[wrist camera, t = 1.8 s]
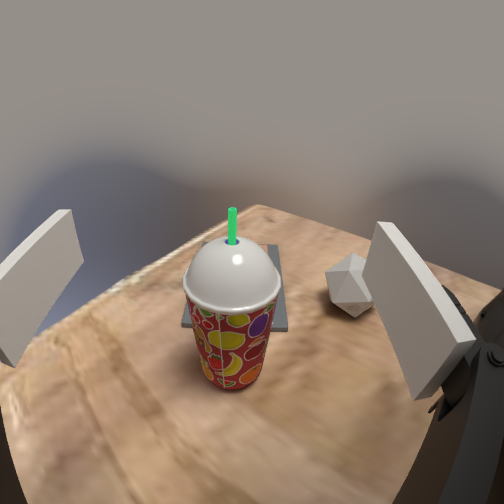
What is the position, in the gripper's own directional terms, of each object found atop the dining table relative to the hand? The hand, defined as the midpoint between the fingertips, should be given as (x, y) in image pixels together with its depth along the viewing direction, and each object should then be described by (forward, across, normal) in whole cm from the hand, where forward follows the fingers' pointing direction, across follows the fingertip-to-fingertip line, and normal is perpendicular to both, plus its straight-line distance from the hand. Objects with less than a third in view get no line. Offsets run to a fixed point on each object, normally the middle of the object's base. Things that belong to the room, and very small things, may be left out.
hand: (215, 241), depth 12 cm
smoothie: (+10, 0, -23) cm, 25 cm away
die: (+22, +17, -23) cm, 36 cm away
